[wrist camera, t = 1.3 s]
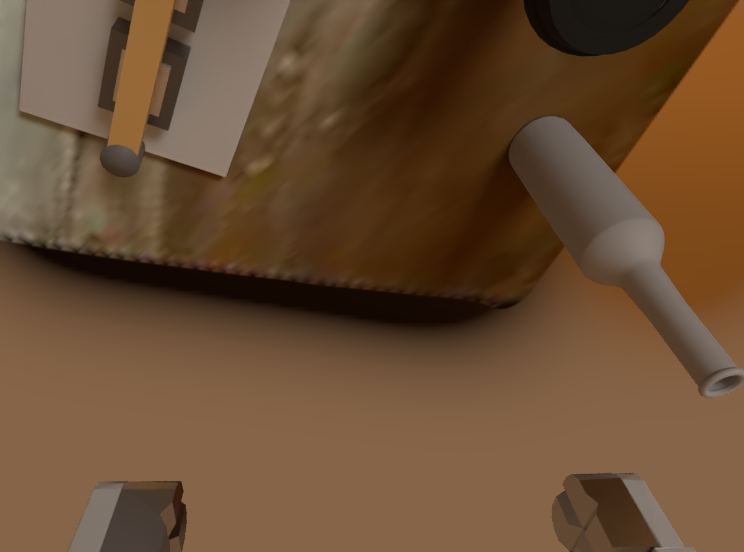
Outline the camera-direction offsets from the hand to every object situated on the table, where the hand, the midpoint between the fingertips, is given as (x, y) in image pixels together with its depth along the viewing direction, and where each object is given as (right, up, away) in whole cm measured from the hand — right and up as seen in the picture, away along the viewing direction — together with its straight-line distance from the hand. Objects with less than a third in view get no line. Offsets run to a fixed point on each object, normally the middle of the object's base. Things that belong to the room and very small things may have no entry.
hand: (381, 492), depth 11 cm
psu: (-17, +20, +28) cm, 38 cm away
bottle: (+16, +18, +39) cm, 46 cm away
